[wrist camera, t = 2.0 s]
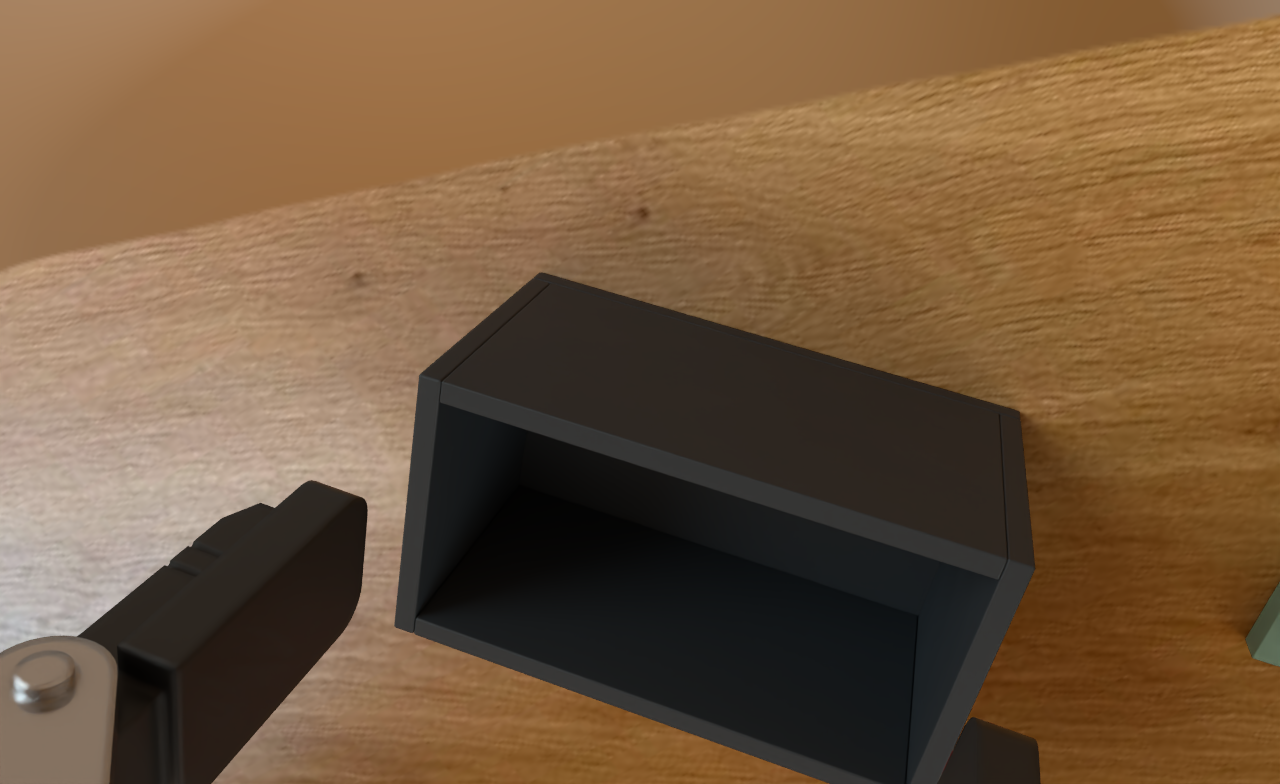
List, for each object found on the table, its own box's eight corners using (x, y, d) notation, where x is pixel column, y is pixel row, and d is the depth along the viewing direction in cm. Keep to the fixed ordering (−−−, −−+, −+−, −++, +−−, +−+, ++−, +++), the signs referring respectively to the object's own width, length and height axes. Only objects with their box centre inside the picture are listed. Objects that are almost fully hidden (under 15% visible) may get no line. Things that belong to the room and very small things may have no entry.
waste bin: (507, 485, 48) (393, 627, 38) (540, 271, 43) (418, 374, 33) (932, 624, 44) (922, 817, 35) (1020, 410, 39) (1036, 568, 30)
